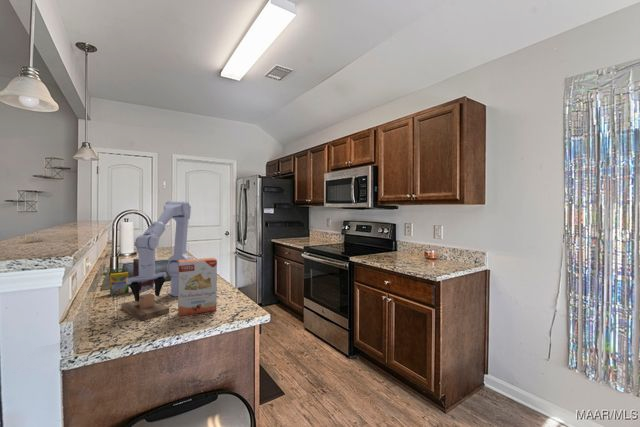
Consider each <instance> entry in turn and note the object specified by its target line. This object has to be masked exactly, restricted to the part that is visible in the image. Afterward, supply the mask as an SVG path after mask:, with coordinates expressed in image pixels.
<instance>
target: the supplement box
mask: <svg viewBox="0 0 640 427" xmlns="http://www.w3.org/2000/svg"><path fill="white" fill-rule="evenodd" d="M132 264H133V266H132V267H133V268H132V269H133V270H132V273H133V274H132V275H133V276H132V277H136V276H139V257H138V258H133V262H132ZM138 284H140V290H139V293H143V292H145V291H147V290H150V289H155V284H154V279H152V280H147V281H142V282H138Z"/></svg>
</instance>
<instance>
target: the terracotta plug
mask: <svg viewBox="0 0 640 427" xmlns="http://www.w3.org/2000/svg"><path fill="white" fill-rule="evenodd" d="M154 301H155V294H152V292H151V293H150V292H148V293H145V294H144V293H143V294H139V309H143V308H147V307H151V306H154Z"/></svg>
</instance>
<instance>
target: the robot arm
mask: <svg viewBox="0 0 640 427" xmlns="http://www.w3.org/2000/svg"><path fill="white" fill-rule="evenodd" d="M191 208H192V207H191V205H190V203H189V202H188V201H186V200H185V201H170V200H168V201H166V202H165V204H164V205H163V211H162V213H161V214H160V216H159V217H158V219H157V221H153V222H151V223H150V225H149V226H148V228H147V229H146V230H145V231H144V232H143V234H140V235H138V236H137V237H136V239H135V242H134V248H136V253H137V254H138V258H139V276H136V277H133V276H132V277H129V278H128V279H126V284H128V285H129V288H130V290H131V291H132V294H133V297H134V301H139V295H140V292H139V290H140V284H138V282H142V281H147V280H152V279H154V297H160V295H161V294H160V293H161V290H162V287H163V285H164V283H165V282H166V278H167V273H168V275H169V276H170V291H168V292H167V295H170V296H173V297H178V260H187V259H192V258H191V257H190V256H188V254H187V244H188V243H187V241H188V228H189V220H190V219H191V212H192V211H191ZM171 219H173V220H174V221H175V233H174V234H175V235H174V236H175V237H174V247H173V248H174V249H173V254H172V255H171V256H170V257H168V260H167V264H166V272H165V271H162V272H161V271H160V272H156V248H158V246H159V242H160V238H161V237H162V235H163V234H164V232H165V231H166V225H168V223H169V222H170V221H171Z"/></svg>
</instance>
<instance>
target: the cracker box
mask: <svg viewBox="0 0 640 427" xmlns="http://www.w3.org/2000/svg"><path fill="white" fill-rule="evenodd" d="M177 261H178V296H177V298H178V299H177V313H178V316H179V317H181V316H186V315H187V316H188V315H194V314H200V313H209V312H216V311H217V303H218V302H217V299H218V298H217V288H218V284H217V283H218V281H217V280H218V279H217V278H218V269H217V268H218V260H217V259H216V257H206V258H191V259H187V260H177Z"/></svg>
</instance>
